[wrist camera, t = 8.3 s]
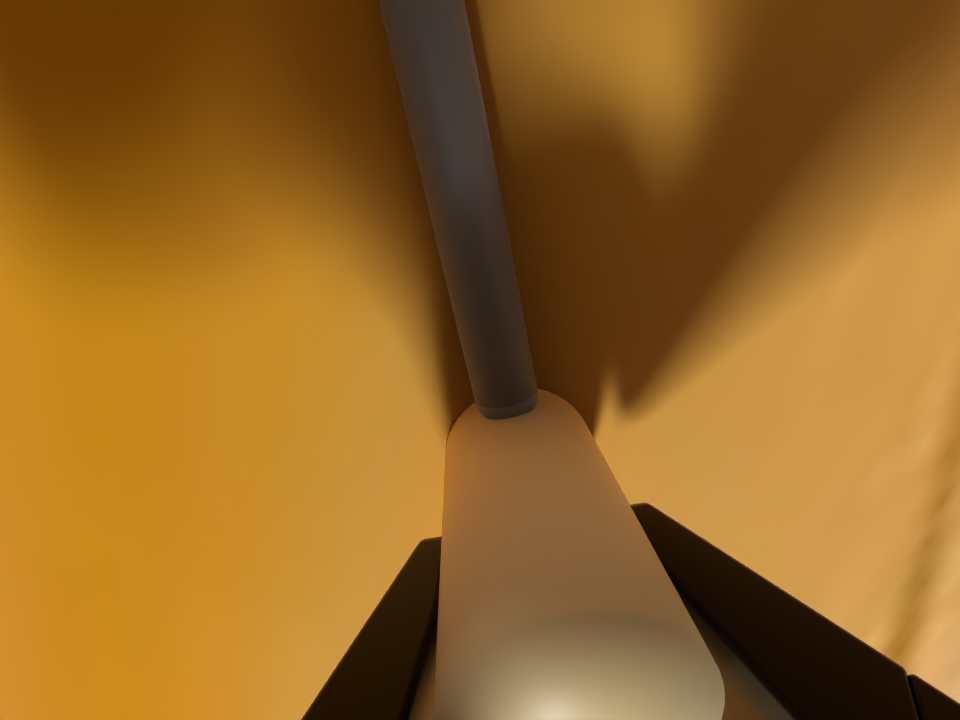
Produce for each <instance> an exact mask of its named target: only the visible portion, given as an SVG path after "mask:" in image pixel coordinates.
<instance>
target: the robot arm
mask: <svg viewBox="0 0 960 720" xmlns="http://www.w3.org/2000/svg"><path fill="white" fill-rule="evenodd" d="M630 506H631V508H632V510H633V512H634V514H635V515H636V517H637V519H638V521H639V523H640V525H641V526H642V528H643V530H644V532H645V534H646V536H647V537H648V539H649V541H650V543H651V545H652V547H653V549H654V550H655V552H656V554H657V556H658V558H659V560H660V561H661V563H662V565H663V567H664V569H665V571H666V572H667V574H668V576H669V578H670V580H671V582H672V583H673V585H674V587H675V589H676V591H677V593H678V594H679V596H680V598H681V600H682V602H683V604H684V606H685V607H686V609H687V611H688V613H689V615H690V617H691V618H692V620H693V622H694V624H695V626H696V628H697V629H698V631H699V633H700V635H701V637H702V639H703V640H704V642H705V644H706V646H707V648H708V650H709V652H710V653H711V655H712V657H713V659H714V661H715V663H716V664H717V666H718V668H719V671H720V673H721V676H722V679H723V683H724V690H725V706H724V711H723V715H722V719H721V720H960V703H958V702H957V701H955V700H953V699H952V698H950V697H949V696H947V695H946V694H944V693H943V692H941V691H939V690H938V689H936V688H935V687H933V686H932V685H930V684H929V683H927V682H925V681H924V680H922V679H921V678H919V677H918V676H916V675H913V674H910V675H907V672H906V670H905V669H904V668H903V667H902V666H900V665H899V664H897V663H895V662H894V661H892V660H891V659H889V658H888V657H886V656H885V655H883V654H882V653H880V652H878V651H877V650H875V649H874V648H872V647H871V646H869V645H868V644H866V643H864V642H863V641H861V640H860V639H858V638H857V637H855V636H854V635H852V634H850V633H849V632H847V631H846V630H844V629H843V628H841V627H840V626H838V625H836V624H835V623H833V622H832V621H830V620H829V619H827V618H826V617H824V616H823V615H821V614H819V613H818V612H816V611H815V610H813V609H812V608H810V607H809V606H807V605H805V604H804V603H802V602H801V601H799V600H798V599H796V598H795V597H793V596H791V595H790V594H788V593H787V592H785V591H784V590H782V589H781V588H779V587H777V586H776V585H774V584H773V583H771V582H770V581H768V580H767V579H765V578H764V577H762V576H760V575H759V574H757V573H756V572H754V571H753V570H751V569H750V568H748V567H746V566H745V565H743V564H742V563H740V562H739V561H737V560H736V559H734V558H732V557H731V556H729V555H728V554H726V553H725V552H723V551H722V550H720V549H719V548H717V547H715V546H714V545H712V544H711V543H709V542H708V541H706V540H705V539H703V538H701V537H700V536H698V535H697V534H695V533H694V532H692V531H691V530H689V529H687V528H686V527H684V526H683V525H681V524H680V523H678V522H677V521H675V520H673V519H672V518H670V517H669V516H667V515H666V514H664V513H663V512H661V511H660V510H658V509H656V508H655V507H653V506H652V505H650V504H648V503H639V504H633V505H630ZM441 541H442V536H441V537H435V538H429V539H424V540H422V541H421V542H419V544H418V545H417V547H416V548H415V550H414V551H413V553H412V554H411V556H410V557H409V559H408V560H407V562H406V563H405V565H404V566H403V568H402V569H401V571H400V572H399V574H398V575H397V577H396V578H395V580H394V581H393V583H392V584H391V586H390V587H389V589H388V590H387V592H386V593H385V595H384V596H383V598H382V599H381V601H380V602H379V604H378V605H377V607H376V608H375V610H374V611H373V613H372V614H371V616H370V617H369V619H368V620H367V622H366V623H365V625H364V626H363V628H362V629H361V631H360V632H359V634H358V635H357V637H356V638H355V640H354V641H353V643H352V644H351V646H350V647H349V649H348V650H347V652H346V653H345V655H344V656H343V658H342V659H341V661H340V662H339V664H338V665H337V667H336V668H335V670H334V671H333V673H332V674H331V676H330V677H329V679H328V680H327V682H326V683H325V685H324V686H323V688H322V689H321V691H320V692H319V694H318V695H317V697H316V698H315V700H314V701H313V703H312V704H311V706H310V707H309V709H308V710H307V712H306V713H305V715H304V716H303V718H302V719H301V720H433V713H434V691H435V670H436V648H437V627H438V606H439V584H440V563H441Z"/></svg>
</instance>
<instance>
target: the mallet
mask: <svg viewBox="0 0 960 720" xmlns="http://www.w3.org/2000/svg"><path fill="white" fill-rule="evenodd" d="M378 4H379V8H380V12H381V16H382V20H383V24H384V28H385V32H386V37H387V41H388V45H389V49H390V53H391V57H392V61H393V66H394V70H395V74H396V78H397V82H398V86H399V90H400V94H401V99H402V103H403V107H404V111H405V115H406V119H407V123H408V127H409V132H410V136H411V140H412V144H413V148H414V152H415V156H416V161H417V165H418V169H419V173H420V177H421V181H422V185H423V189H424V194H425V198H426V202H427V206H428V210H429V214H430V218H431V223H432V227H433V231H434V235H435V239H436V243H437V247H438V251H439V256H440V260H441V264H442V268H443V272H444V276H445V280H446V285H447V289H448V293H449V297H450V301H451V305H452V309H453V313H454V318H455V322H456V326H457V330H458V334H459V338H460V342H461V347H462V351H463V355H464V359H465V363H466V367H467V371H468V375H469V380H470V384H471V388H472V392H473V396H474V400H475V402H474V403H473V404H471V405H470V406H469V407H468V408H467V409H466V410H465V411H464V412H462V414H461V415H460V416H459V418H458V419H457V420H456V422H455V423H454V425H453V427H452V429H451V431H450V434H449V436H448V440H447V444H446V455H445V477H444V498H443V520H442V541H441V563H440V584H439V606H438V627H437V648H436V670H435V691H434V713H433V720H721V719H722V715H723V711H724V706H725V690H724V683H723V679H722V676H721V673H720V671H719V668H718V666H717V664H716V663H715V661H714V659H713V657H712V655H711V653H710V652H709V650H708V648H707V646H706V644H705V642H704V640H703V639H702V637H701V635H700V633H699V631H698V629H697V628H696V626H695V624H694V622H693V620H692V618H691V617H690V615H689V613H688V611H687V609H686V607H685V606H684V604H683V602H682V600H681V598H680V596H679V594H678V593H677V591H676V589H675V587H674V585H673V583H672V582H671V580H670V578H669V576H668V574H667V572H666V571H665V569H664V567H663V565H662V563H661V561H660V560H659V558H658V556H657V554H656V552H655V550H654V549H653V547H652V545H651V543H650V541H649V539H648V537H647V536H646V534H645V532H644V530H643V528H642V526H641V525H640V523H639V521H638V519H637V517H636V515H635V514H634V512H633V510H632V508H631V506H630V504H629V503H628V501H627V499H626V497H625V495H624V493H623V491H622V490H621V488H620V486H619V484H618V482H617V480H616V479H615V477H614V475H613V473H612V471H611V469H610V468H609V466H608V464H607V462H606V460H605V458H604V457H603V455H602V453H601V451H600V449H599V447H598V446H597V444H596V442H595V440H594V438H593V436H592V434H591V433H590V431H589V429H588V427H587V425H586V423H585V422H584V420H583V418H582V417H581V415H580V414H579V413H578V411H577V410H576V409H575V408H574V407H573V406H572V405H571V404H570V403H569V402H567V401H566V400H564V399H563V398H561V397H560V396H558V395H556V394H554V393H551V392H548V391H546V390H542V389H538V387H537V382H536V377H535V372H534V366H533V361H532V356H531V350H530V345H529V340H528V334H527V329H526V324H525V318H524V313H523V308H522V302H521V297H520V292H519V287H518V281H517V276H516V271H515V265H514V260H513V255H512V249H511V244H510V239H509V233H508V228H507V223H506V217H505V212H504V207H503V201H502V196H501V191H500V186H499V180H498V175H497V170H496V164H495V159H494V154H493V148H492V143H491V138H490V132H489V127H488V122H487V116H486V111H485V106H484V101H483V95H482V90H481V85H480V79H479V74H478V69H477V63H476V58H475V53H474V47H473V42H472V37H471V31H470V26H469V21H468V16H467V10H466V5H465V0H378Z"/></svg>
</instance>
